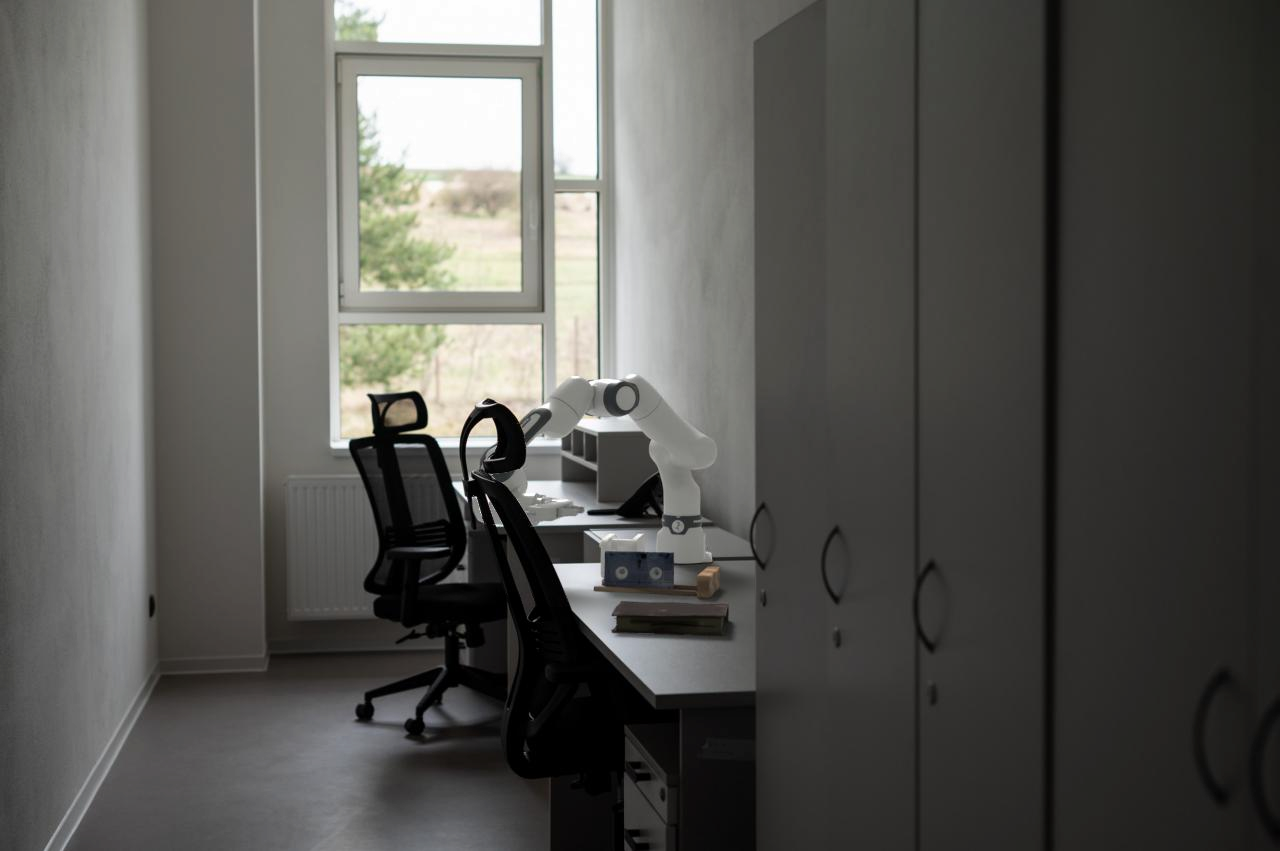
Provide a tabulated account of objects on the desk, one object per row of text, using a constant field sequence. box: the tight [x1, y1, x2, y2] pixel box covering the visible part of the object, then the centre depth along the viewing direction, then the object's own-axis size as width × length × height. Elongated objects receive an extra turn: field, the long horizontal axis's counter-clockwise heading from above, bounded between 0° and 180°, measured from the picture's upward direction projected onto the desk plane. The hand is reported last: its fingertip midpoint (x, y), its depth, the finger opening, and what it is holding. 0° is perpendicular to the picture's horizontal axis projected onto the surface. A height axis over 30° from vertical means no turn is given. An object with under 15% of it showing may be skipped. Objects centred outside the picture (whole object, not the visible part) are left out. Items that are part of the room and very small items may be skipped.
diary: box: [611, 600, 730, 637], centre depth 284 cm, size 19×25×5 cm
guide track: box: [593, 565, 721, 599], centre depth 331 cm, size 16×31×6 cm, turn 77°
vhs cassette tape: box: [603, 551, 675, 590], centre depth 332 cm, size 18×3×10 cm, turn 86°
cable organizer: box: [598, 533, 646, 579], centre depth 351 cm, size 15×11×12 cm
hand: (580, 511), depth 335 cm, fingers open, 5 cm apart
